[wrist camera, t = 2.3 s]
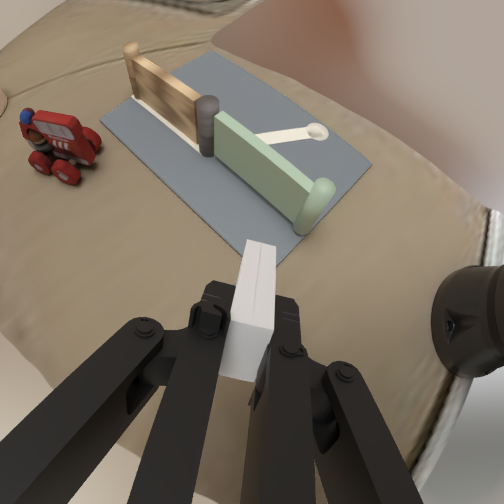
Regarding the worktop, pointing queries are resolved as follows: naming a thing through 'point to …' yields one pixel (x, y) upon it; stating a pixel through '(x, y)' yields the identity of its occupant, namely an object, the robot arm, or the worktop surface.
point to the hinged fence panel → (271, 173)
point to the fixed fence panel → (173, 99)
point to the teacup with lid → (2, 101)
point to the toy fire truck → (58, 143)
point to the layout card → (218, 173)
